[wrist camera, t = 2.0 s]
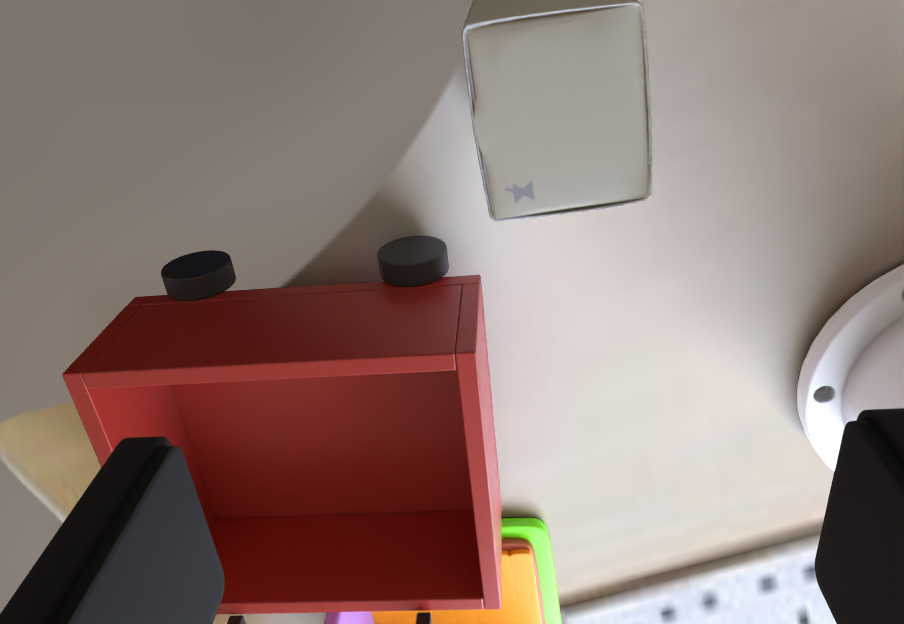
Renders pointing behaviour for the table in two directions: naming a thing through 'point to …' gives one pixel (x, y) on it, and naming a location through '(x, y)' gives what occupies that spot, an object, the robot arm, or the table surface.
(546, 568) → the miniature room corner
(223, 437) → the cart
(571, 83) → the white carton box
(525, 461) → the table surface
